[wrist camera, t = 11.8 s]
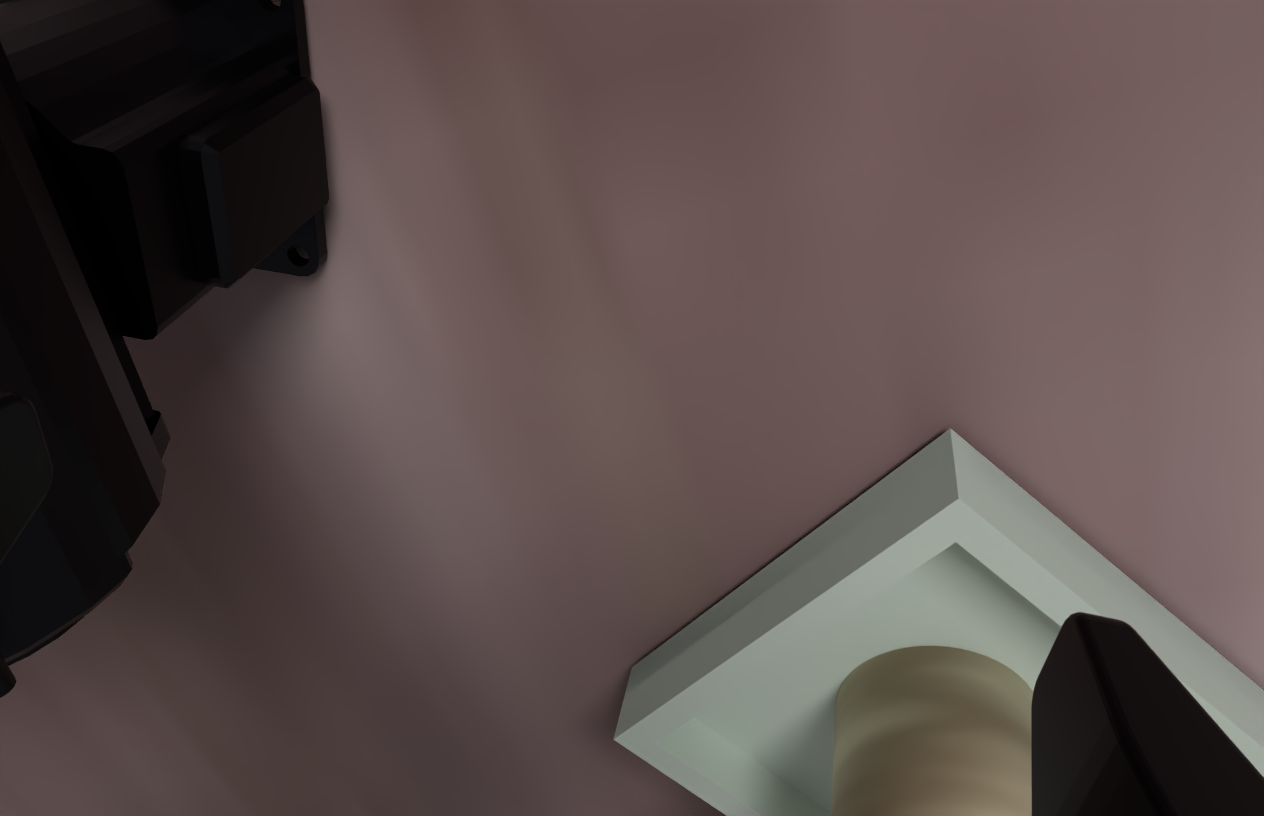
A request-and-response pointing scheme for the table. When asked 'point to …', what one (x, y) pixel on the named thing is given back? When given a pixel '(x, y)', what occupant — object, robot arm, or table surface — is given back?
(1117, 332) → the table surface
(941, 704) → the dowel
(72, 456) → the robot arm
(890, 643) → the tray
